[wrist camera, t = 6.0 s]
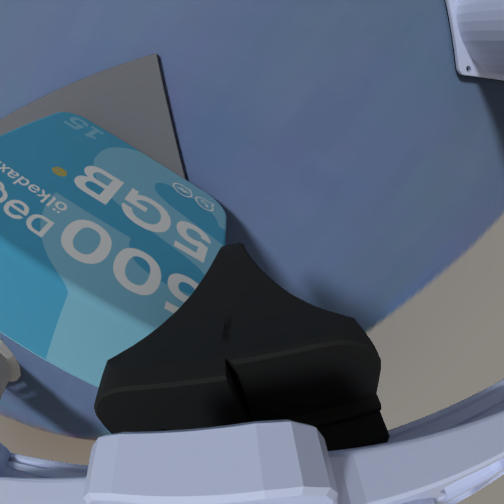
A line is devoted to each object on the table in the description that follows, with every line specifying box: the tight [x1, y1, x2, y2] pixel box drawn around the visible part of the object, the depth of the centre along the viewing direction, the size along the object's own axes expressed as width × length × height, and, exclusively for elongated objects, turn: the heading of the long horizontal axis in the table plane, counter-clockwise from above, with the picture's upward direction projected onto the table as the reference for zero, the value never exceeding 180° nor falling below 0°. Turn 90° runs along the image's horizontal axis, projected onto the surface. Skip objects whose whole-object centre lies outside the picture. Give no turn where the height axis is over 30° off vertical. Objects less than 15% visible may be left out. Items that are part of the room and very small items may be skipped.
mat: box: [0, 54, 186, 180], centre depth 20 cm, size 16×18×1 cm
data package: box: [0, 112, 227, 388], centre depth 14 cm, size 12×4×12 cm, turn 53°
